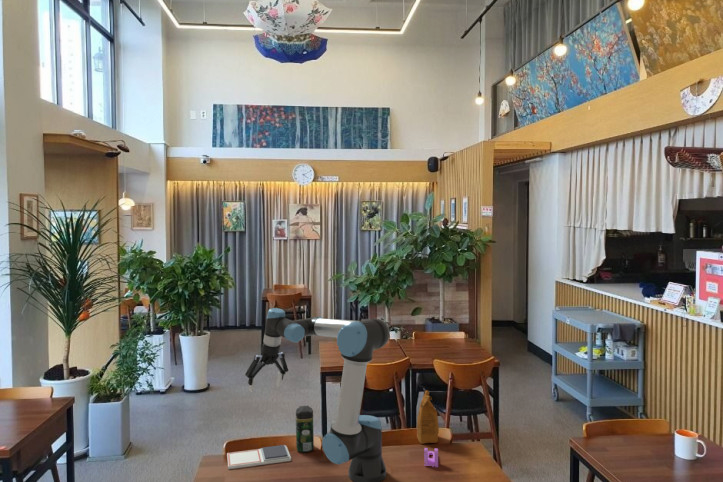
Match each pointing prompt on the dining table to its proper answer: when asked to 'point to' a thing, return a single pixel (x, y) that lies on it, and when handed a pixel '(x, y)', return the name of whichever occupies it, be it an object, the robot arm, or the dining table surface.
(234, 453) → the board
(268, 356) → the robot arm
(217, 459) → the dining table surface
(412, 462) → the dining table surface
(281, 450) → the ink pad
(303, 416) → the coffee jar
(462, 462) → the dining table surface
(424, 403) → the coffee package
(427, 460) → the bracket
